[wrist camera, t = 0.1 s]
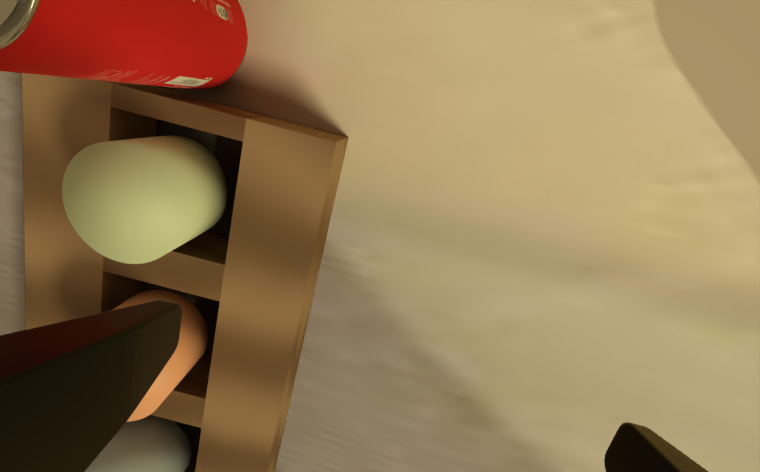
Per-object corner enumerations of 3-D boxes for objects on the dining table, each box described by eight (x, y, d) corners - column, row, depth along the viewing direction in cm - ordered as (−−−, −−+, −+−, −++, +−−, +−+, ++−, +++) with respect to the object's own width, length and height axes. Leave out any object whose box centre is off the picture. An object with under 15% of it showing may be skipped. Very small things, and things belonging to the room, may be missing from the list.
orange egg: (202, 378, 23) (159, 433, 19) (118, 356, 23) (59, 406, 19) (213, 302, 21) (169, 344, 18) (123, 279, 21) (60, 315, 18)
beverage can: (132, 35, 21) (-221, -59, 9) (194, -52, 19) (-128, -291, 8) (212, 112, 21) (-20, 115, 10) (277, 34, 20) (95, -69, 9)
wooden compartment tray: (271, 485, 28) (252, 535, 25) (73, 433, 28) (28, 476, 25) (348, 137, 21) (336, 142, 18) (83, 67, 21) (21, 59, 18)
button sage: (220, 246, 20) (176, 277, 17) (126, 221, 20) (61, 246, 17) (234, 150, 19) (189, 160, 15) (133, 123, 19) (62, 126, 15)
